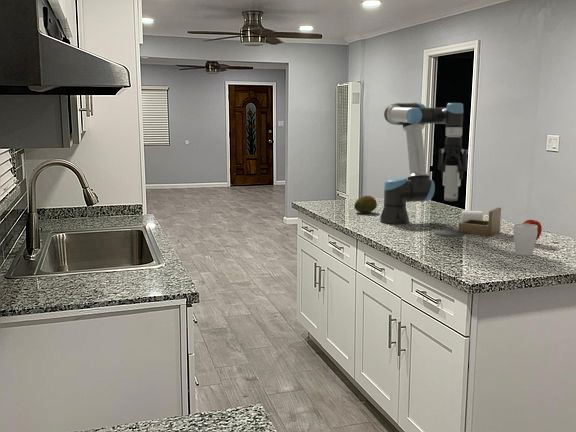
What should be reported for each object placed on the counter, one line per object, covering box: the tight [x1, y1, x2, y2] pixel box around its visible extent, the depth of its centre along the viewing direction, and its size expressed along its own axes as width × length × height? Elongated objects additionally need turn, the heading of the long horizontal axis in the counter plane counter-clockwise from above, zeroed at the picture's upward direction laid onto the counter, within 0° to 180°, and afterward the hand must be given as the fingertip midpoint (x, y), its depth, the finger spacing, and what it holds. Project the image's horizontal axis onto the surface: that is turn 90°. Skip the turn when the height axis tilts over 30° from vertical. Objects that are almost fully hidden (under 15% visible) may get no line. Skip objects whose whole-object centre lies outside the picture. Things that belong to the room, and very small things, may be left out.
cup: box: [513, 223, 537, 257], centre depth 235 cm, size 9×9×12 cm
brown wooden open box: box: [458, 207, 502, 238], centre depth 279 cm, size 16×14×12 cm
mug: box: [460, 210, 484, 222], centre depth 299 cm, size 12×10×8 cm
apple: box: [522, 219, 543, 241], centre depth 255 cm, size 9×8×11 cm
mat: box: [433, 229, 466, 238], centre depth 278 cm, size 14×14×1 cm
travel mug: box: [443, 157, 461, 202], centre depth 273 cm, size 6×7×20 cm
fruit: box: [353, 195, 378, 214], centre depth 339 cm, size 12×13×10 cm
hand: (451, 185), depth 274 cm, fingers closed on travel mug, 6 cm apart
